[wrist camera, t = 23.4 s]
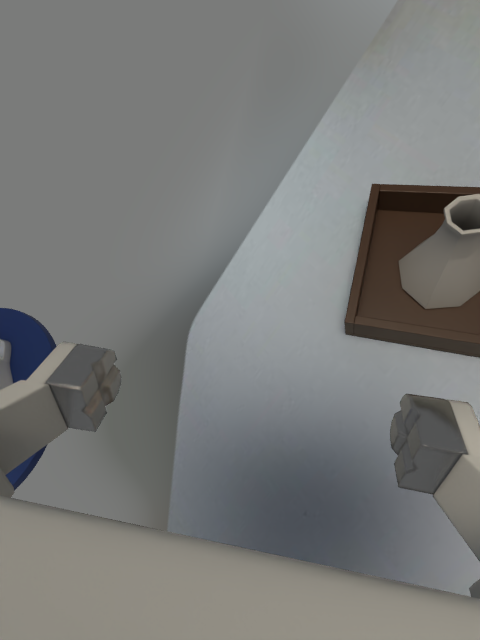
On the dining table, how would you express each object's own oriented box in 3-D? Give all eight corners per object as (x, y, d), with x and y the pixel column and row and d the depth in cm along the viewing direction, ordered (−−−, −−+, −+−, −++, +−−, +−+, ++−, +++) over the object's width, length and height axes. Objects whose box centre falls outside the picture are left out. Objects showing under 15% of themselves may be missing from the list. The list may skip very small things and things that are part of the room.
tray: (345, 334, 36) (344, 322, 32) (370, 207, 39) (372, 183, 36) (521, 364, 31) (543, 354, 27) (531, 216, 34) (552, 189, 31)
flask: (385, 258, 36) (395, 196, 27) (458, 229, 35) (495, 154, 26) (419, 321, 33) (444, 276, 24) (500, 292, 32) (558, 232, 23)
